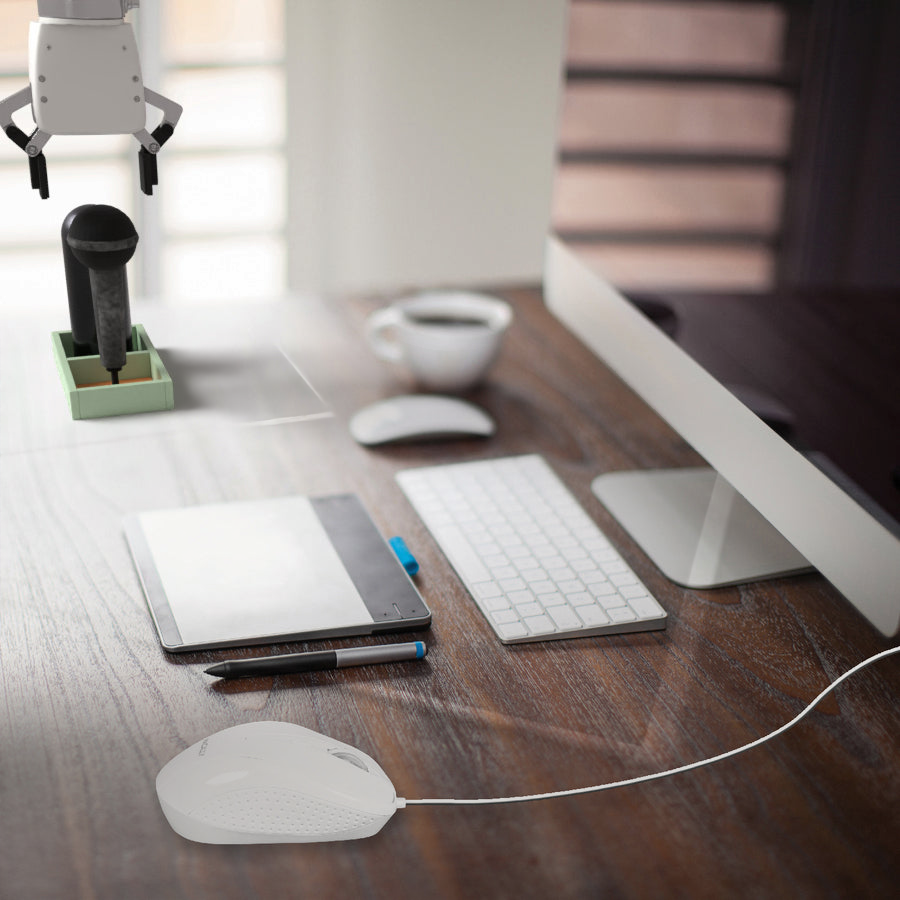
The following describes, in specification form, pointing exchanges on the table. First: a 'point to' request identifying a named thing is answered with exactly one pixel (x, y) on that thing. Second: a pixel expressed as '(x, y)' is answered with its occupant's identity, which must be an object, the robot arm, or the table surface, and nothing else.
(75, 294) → the black domed cylinder
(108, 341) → the microphone
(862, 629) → the table surface
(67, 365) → the mic rack
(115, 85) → the robot arm
